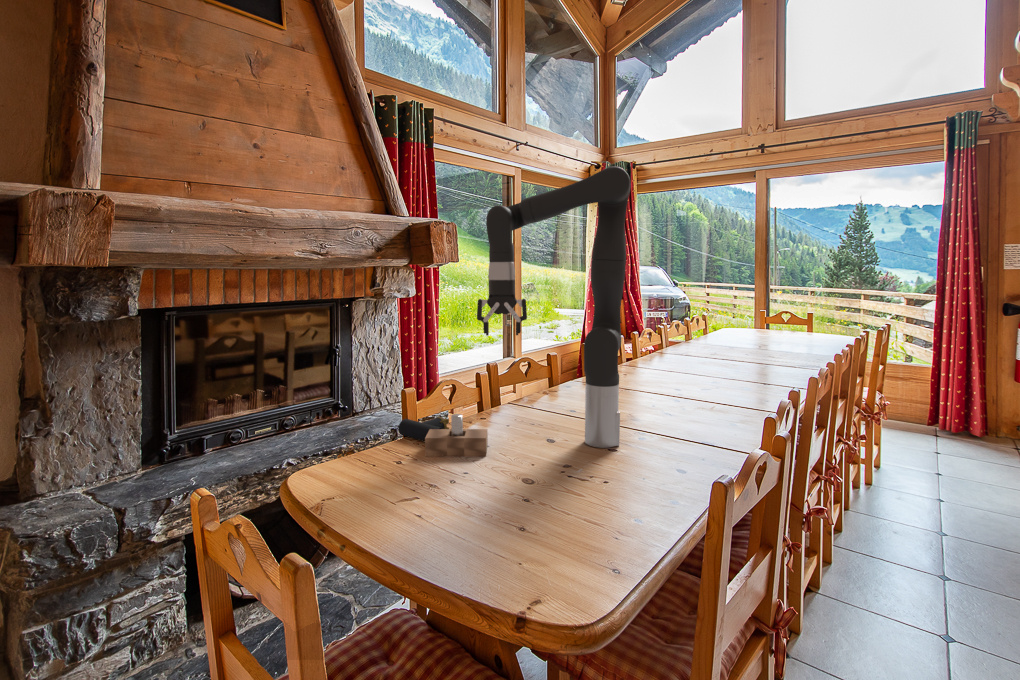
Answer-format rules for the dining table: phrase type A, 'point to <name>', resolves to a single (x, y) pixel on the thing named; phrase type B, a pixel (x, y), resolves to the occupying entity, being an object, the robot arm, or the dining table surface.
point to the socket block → (456, 443)
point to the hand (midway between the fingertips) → (502, 335)
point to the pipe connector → (421, 427)
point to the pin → (457, 424)
